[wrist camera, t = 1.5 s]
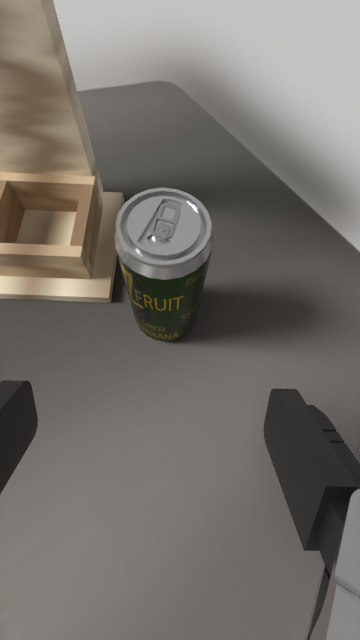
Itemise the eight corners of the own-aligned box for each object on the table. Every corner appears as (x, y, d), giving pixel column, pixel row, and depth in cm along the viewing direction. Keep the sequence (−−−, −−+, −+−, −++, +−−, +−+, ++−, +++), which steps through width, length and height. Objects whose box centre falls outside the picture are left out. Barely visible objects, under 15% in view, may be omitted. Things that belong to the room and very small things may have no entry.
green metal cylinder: (146, 282, 27) (130, 175, 16) (202, 296, 27) (225, 197, 16) (127, 334, 25) (94, 253, 14) (187, 351, 25) (202, 281, 14)
